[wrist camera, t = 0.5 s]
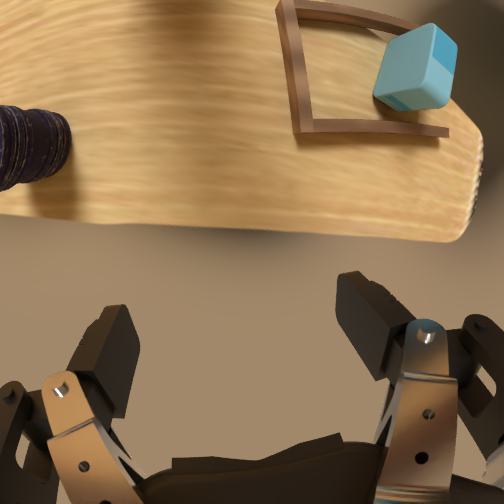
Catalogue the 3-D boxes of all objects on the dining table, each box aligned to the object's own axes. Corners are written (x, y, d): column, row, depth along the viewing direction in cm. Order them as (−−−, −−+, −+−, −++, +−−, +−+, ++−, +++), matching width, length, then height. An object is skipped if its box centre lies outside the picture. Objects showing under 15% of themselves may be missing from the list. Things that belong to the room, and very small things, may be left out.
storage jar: (41, 101, 26) (-26, 92, 12) (83, 127, 29) (17, 122, 15) (14, 161, 28) (-52, 176, 14) (53, 190, 31) (-13, 217, 17)
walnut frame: (275, 9, 26) (280, -2, 23) (419, 34, 28) (431, 30, 25) (293, 133, 33) (301, 132, 30) (435, 136, 35) (449, 137, 32)
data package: (393, 113, 34) (448, 109, 22) (370, 98, 32) (423, 87, 21) (409, 55, 30) (459, 41, 19) (387, 40, 29) (435, 19, 18)
